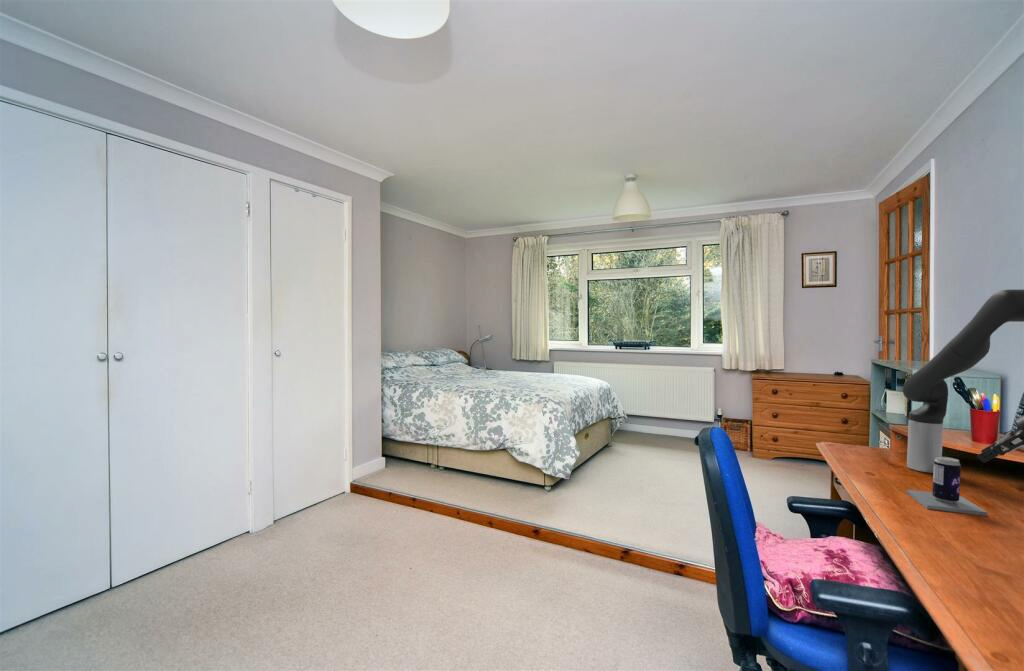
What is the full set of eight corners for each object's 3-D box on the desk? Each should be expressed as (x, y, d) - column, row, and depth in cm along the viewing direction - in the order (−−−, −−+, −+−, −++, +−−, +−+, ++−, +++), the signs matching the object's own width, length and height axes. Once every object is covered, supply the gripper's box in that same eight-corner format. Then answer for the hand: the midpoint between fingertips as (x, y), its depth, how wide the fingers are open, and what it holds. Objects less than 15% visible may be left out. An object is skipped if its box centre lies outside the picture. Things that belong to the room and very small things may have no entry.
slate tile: (906, 493, 143) (906, 489, 143) (960, 499, 139) (960, 495, 139) (927, 508, 131) (927, 505, 131) (987, 515, 126) (987, 512, 126)
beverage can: (954, 505, 131) (956, 462, 131) (928, 498, 136) (930, 457, 136) (962, 502, 134) (964, 460, 133) (937, 495, 139) (939, 455, 138)
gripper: (1034, 407, 126) (972, 441, 135) (1030, 413, 117) (965, 449, 126) (1063, 430, 122) (998, 464, 131) (1062, 438, 113) (992, 473, 122)
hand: (982, 456), depth 129 cm, fingers open, 8 cm apart
